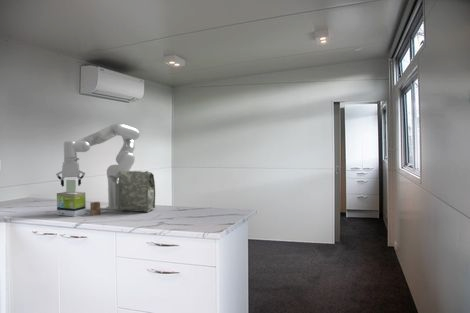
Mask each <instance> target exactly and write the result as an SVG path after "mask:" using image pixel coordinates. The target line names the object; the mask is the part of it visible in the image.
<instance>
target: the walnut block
mask: <svg viewBox="0 0 470 313" xmlns="http://www.w3.org/2000/svg"><path fill="white" fill-rule="evenodd" d="M90 215H91V216H100V215H101V202H100V201H91V202H90Z"/></svg>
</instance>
